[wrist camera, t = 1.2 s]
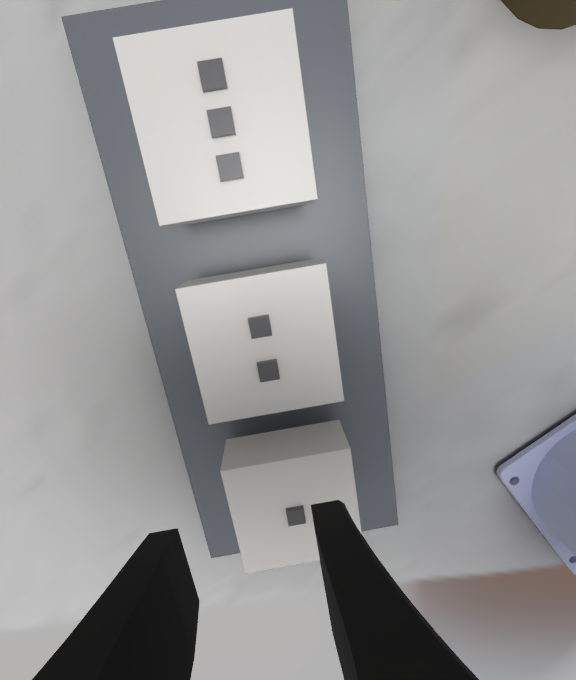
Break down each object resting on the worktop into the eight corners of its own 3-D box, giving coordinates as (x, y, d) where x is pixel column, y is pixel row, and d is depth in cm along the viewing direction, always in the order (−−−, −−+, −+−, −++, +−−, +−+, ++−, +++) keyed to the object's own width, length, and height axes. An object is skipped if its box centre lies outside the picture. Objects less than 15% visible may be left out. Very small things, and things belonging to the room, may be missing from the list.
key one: (351, 513, 18) (365, 556, 16) (247, 531, 18) (245, 577, 16) (339, 419, 17) (351, 451, 14) (226, 439, 17) (219, 474, 14)
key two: (333, 377, 16) (345, 403, 14) (216, 397, 16) (208, 427, 14) (317, 258, 15) (327, 263, 12) (188, 280, 15) (173, 290, 12)
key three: (309, 204, 14) (318, 198, 12) (176, 226, 14) (157, 225, 12) (287, 47, 13) (292, 4, 10) (139, 70, 13) (109, 33, 10)
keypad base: (393, 513, 21) (408, 547, 19) (213, 545, 21) (207, 583, 19) (339, -15, 14) (353, -61, 12) (72, 28, 14) (36, -10, 12)
